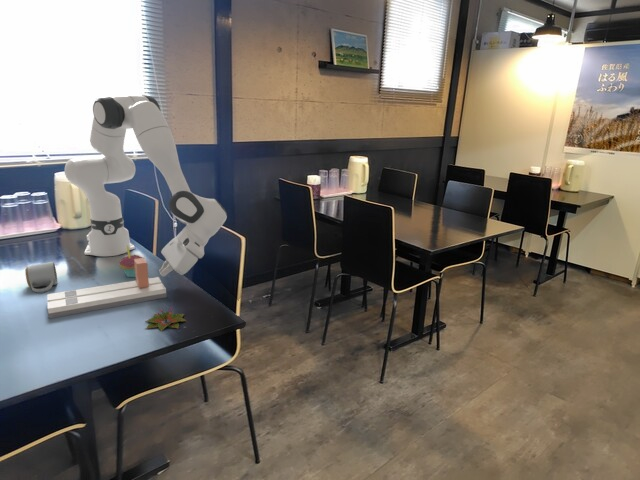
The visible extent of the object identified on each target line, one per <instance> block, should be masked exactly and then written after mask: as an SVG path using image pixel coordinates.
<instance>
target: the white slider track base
mask: <svg viewBox="0 0 640 480" xmlns="http://www.w3.org/2000/svg"><path fill="white" fill-rule="evenodd" d="M148 280H149V286H148V287H141V288H139V287H138V285H137V283H136V280H129V281H123V282H119V283H118V282H117V283H111V284H106V285H97V286H91V287H86V288H84V287H83V288H80V289H79V288H78V289H73V290H67V291H60V292H54V293H53V292H52V293H48V294H47V293H46V294H47V295H46V296H47V298H46V299H47V314H48V318H49V319H55V318H60V317H64V316H65V317H66V316H70V315H75V314H81V313H88V312H94V311H99V310H104V309H109V308H114V307H120V306H125V305H130V304H137V303H142V302H148V301H153V300H158V299H164V298H167V288H166V287H165V285H164V284H163V282H162V280H161V278H160V277H159V276H156V277H148Z"/></svg>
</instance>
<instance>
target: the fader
mask: <svg viewBox="0 0 640 480" xmlns="http://www.w3.org/2000/svg"><path fill="white" fill-rule="evenodd" d="M134 264H135V275H136V277H135V281H136V283H137V285H138V287H139V288H141V287H148V286H149V280H148V278H149V272H148V271H149V269H148V262H147V260H146V258H145V257H142V258H138V259H134Z"/></svg>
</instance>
